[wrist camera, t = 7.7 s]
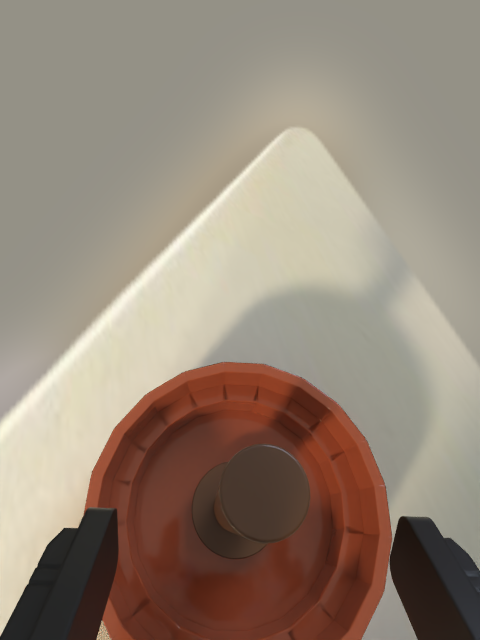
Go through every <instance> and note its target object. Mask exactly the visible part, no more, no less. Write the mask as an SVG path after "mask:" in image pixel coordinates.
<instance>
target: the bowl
mask: <svg viewBox="0 0 480 640" xmlns="http://www.w3.org/2000/svg"><path fill="white" fill-rule="evenodd" d="M255 444H272V445H276V446H278V447H281V448H283V449H285V450H287V451H288V452H289V453H291V454H292V455H293V456H294V457H295V458H296V459H297V460H298V461H299V463H300V464H301V465H302V467H303V469H304V471H305V473H306V475H307V478H308V481H309V486H310V505H309V509H308V513H307V515H306V518H305V519H304V521H303V523H302V525H301V526H300V527H299V528H298V530H297V531H296V532H295V533H293V534H292V535H291V536H289V537H288V538H286V539H284V540H282V541H279V542H275V543H268V544H267V545H266V546H265V547H264V548H263V549H262V550H261V551H259V552H258V553H256V554H254V555H253V556H250V557H247V558H243V559H228V558H225V557H221V556H219V555H217V554H215V553H214V552H212V551H211V550H210V549H208V548H207V547H206V546H205V545H204V544H203V542H202V541H201V540H200V538H199V537H198V535H197V533H196V530H195V528H194V524H193V520H192V500H193V496H194V492H195V490H196V487H197V486H198V484H199V482H200V480H201V479H202V478H203V476H204V475H205V474H206V473H207V472H208V471H210V470H211V469H212V468H214V467H215V466H217V465H219V464H221V463H224V462H228V461H230V459H231V458H232V457H233V456H234V455H235V454H236V453H238V452H239V451H240V450H242V449H244V448H246V447H248V446H251V445H255ZM89 507H96V508H116V509H117V516H118V548H119V552H118V562H117V569H116V573H115V577H114V581H113V584H112V587H111V591H110V594H109V598H108V601H107V604H106V608H105V611H104V614H103V618H102V620H103V623H104V625H105V627H106V630H107V632H108V634H109V637H110V638H111V640H361V639H362V637H363V635H364V632H365V630H366V628H367V626H368V624H369V622H370V620H371V618H372V616H373V614H374V612H375V610H376V608H377V606H378V603H379V601H380V599H381V597H382V595H383V592H384V589H385V582H386V576H387V569H388V562H389V555H390V549H391V542H392V532H391V525H390V517H389V509H388V502H387V494H386V486H385V483H384V481H383V478H382V476H381V473H380V471H379V469H378V466H377V464H376V462H375V459H374V457H373V454H372V452H371V450H370V447H369V445H368V442H367V440H366V439H365V437H364V436H363V435H362V433H361V432H360V431H359V430H358V428H357V427H356V426H355V425H354V423H353V422H352V421H351V419H350V418H349V417H348V416H347V414H346V413H345V412H344V411H343V409H342V408H341V407H340V405H339V404H337V402H335V401H334V400H332V399H331V398H330V397H328V396H327V395H326V394H324V393H323V392H322V391H320V390H319V389H317V388H316V387H315V386H313V385H312V384H311V383H309V382H308V381H306V380H305V379H303V378H301V377H299V376H296V375H293V374H290V373H288V372H285V371H282V370H279V369H277V368H274V367H271V366H268V365H264V364H253V363H234V362H222V363H218V364H214V365H209V366H205V367H201V368H197V369H193V370H189V371H185V372H183V373H181V374H179V375H177V376H176V377H174V378H172V379H171V380H169V381H167V382H166V383H164V384H162V385H161V386H159V387H157V388H156V389H154V390H152V391H150V392H149V393H147V395H145V396H144V397H143V398H142V399H141V400H140V401H139V402H138V403H137V404H136V405H135V406H134V408H133V409H132V410H131V411H130V412H129V413H128V414H127V415H126V416H125V417H124V418H123V419H122V420H121V422H120V423H119V424H118V425H117V426H116V427H115V429H114V430H113V432H112V434H111V436H110V438H109V440H108V441H107V443H106V445H105V447H104V449H103V451H102V453H101V455H100V457H99V459H98V461H97V463H96V465H95V467H94V469H93V471H92V475H91V479H90V484H89V489H88V494H87V499H86V505H85V510H84V514H85V512H86V510H87V509H88V508H89ZM83 516H84V515H83Z"/></svg>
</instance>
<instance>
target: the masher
mask: <svg viewBox="0 0 480 640" xmlns="http://www.w3.org/2000/svg"><path fill="white" fill-rule="evenodd" d="M309 505H310V486H309V481H308V478H307V475H306V473H305V471H304V469H303V467H302V465H301V464H300V463H299V461H298V460H297V459H296V458H295V457H294V456H293V455H292V454H291V453H289V452H288V451H287V450H285V449H283V448H281V447H278V446H276V445H272V444H255V445H251V446H248V447H246V448H244V449H242V450H240V451H239V452H238V453H236V454H235V455H234V456H233V457H232V458H231V459H230V461H228V462H224V463H221V464H219V465H217V466H215V467H214V468H212V469H211V470H210V471H208V472H207V473H206V474H205V475H204V476H203V478H202V479H201V480H200V482H199V484H198V486H197V487H196V490H195V492H194V496H193V500H192V520H193V524H194V528H195V530H196V533H197V535H198V537H199V538H200V540H201V541H202V542H203V544H204V545H205V546H206V547H207V548H208V549H210V550H211V551H212V552H214V553H215V554H217V555H219V556H221V557H225V558H228V559H243V558H247V557H250V556H253V555H254V554H256V553H258V552H259V551H261V550H262V549H263V548H264V547H265V546H266V545H267V544H268V543H275V542H279V541H282V540H284V539H286V538H288V537H289V536H291V535H292V534H293V533H295V532H296V531H297V530H298V528H299V527H300V526H301V525H302V523H303V521H304V519H305V518H306V515H307V513H308V509H309Z"/></svg>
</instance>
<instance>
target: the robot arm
mask: <svg viewBox="0 0 480 640" xmlns="http://www.w3.org/2000/svg"><path fill="white" fill-rule="evenodd" d="M118 552H119V548H118V516H117V509H116V508H96V507H89V508H88V509H87V510H86V512H85V514H84V516H83V518H82V520H81V523H80V525H79V527H78V528H64V529H63V530H62V531H61V532H60V533H59V534H58V535H57V536H56V537H55V538H54V539H53V540H52V541H51V542H50V543H49V544H48V545H47V547H46V549H45V551H44V553H43V555H42V557H41V559H40V561H39V563H38V566H37V568H35V570H34V572H33V574H32V576H31V578H30V580H29V584H28V585H27V586H26V588H25V590H24V592H23V594H22V596H21V598H20V600H19V601H18V603H17V605H16V607H15V609H14V611H13V613H12V615H11V617H10V619H9V621H8V623H7V625H6V627H5V629H4V631H3V633H2V634H1V636H0V640H96V638H97V635H98V631H99V628H100V625H101V621H102V618H103V614H104V611H105V608H106V604H107V601H108V598H109V594H110V591H111V587H112V584H113V581H114V577H115V573H116V569H117V562H118ZM390 571H391V576H392V579H393V582H394V585H395V587H396V589H397V592H398V594H399V596H400V599H401V601H402V603H403V606H404V608H405V610H406V613H407V615H408V617H409V620H410V622H411V624H412V627H413V629H414V631H415V634H416V636H417V638H418V640H480V571H479V569H478V568H477V566H476V565H475V563H474V562H473V560H472V559H471V557H470V556H469V554H468V553H466V552H465V551H464V550H463V549H462V548H461V547H460V546H459V545H458V544H457V543H455V542H454V541H453V540H452V539H451V538H443V536H442V535H441V533H440V531H439V530H438V528H437V527H436V525H435V524H434V522H433V521H432V520H431V519H430V518H428V517H407V516H402V517H401V518H400V519H399V521H398V525H397V529H396V534H395V538H394V542H393V546H392V550H391V555H390Z"/></svg>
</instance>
